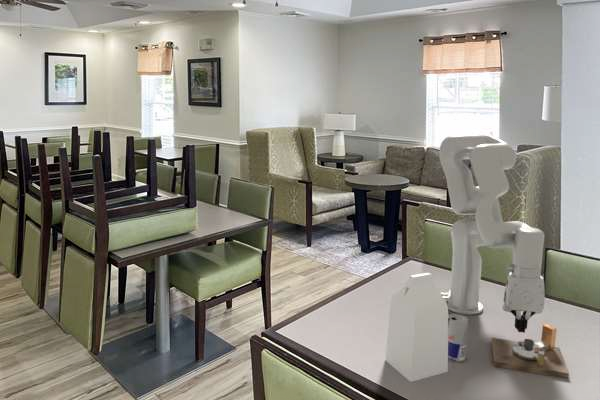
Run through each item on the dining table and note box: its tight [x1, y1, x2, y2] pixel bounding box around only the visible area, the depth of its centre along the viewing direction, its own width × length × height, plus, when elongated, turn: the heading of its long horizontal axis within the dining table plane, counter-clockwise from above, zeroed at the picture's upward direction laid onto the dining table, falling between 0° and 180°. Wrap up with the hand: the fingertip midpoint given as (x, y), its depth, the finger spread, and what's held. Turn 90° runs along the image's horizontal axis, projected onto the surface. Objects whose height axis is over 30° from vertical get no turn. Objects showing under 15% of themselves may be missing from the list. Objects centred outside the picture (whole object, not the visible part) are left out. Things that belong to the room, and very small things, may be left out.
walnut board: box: [490, 337, 570, 379], centre depth 134 cm, size 18×14×6 cm
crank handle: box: [512, 323, 558, 361], centre depth 135 cm, size 13×8×6 cm, turn 116°
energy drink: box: [448, 313, 469, 363], centre depth 134 cm, size 5×5×12 cm
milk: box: [385, 272, 449, 383], centre depth 129 cm, size 12×12×26 cm
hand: (520, 330), depth 142 cm, fingers closed
